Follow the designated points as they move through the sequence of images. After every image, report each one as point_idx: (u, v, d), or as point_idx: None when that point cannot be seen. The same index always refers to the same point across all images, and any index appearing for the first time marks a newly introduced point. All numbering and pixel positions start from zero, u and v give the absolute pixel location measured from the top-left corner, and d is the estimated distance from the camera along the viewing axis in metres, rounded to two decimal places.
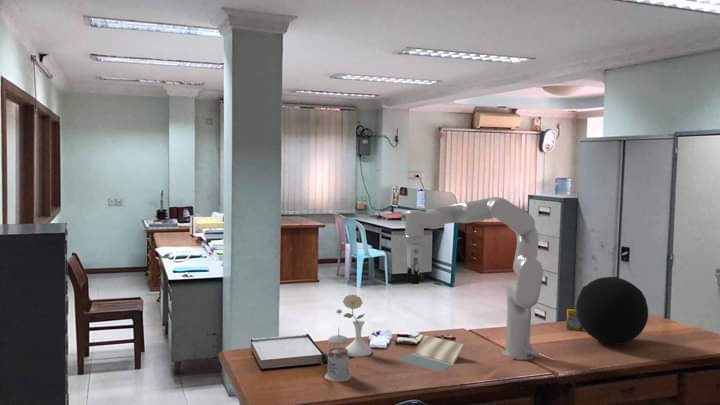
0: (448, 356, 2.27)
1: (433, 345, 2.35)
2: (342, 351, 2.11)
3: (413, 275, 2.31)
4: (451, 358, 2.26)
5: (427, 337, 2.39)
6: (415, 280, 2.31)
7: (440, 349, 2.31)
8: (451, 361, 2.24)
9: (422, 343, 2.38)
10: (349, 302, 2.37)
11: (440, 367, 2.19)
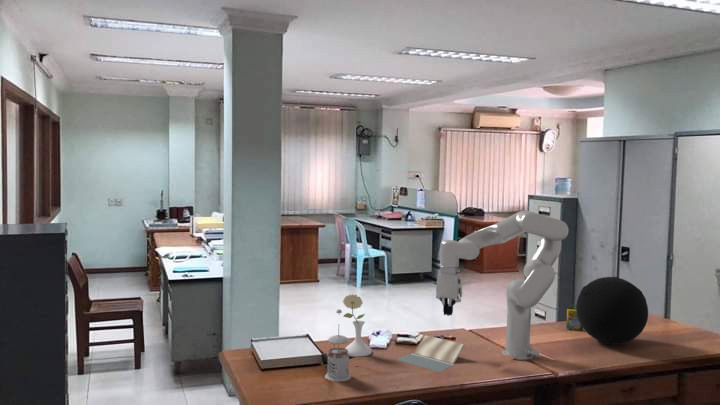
0: (448, 356, 2.27)
1: (433, 345, 2.35)
2: (342, 351, 2.11)
3: (450, 307, 2.35)
4: (451, 358, 2.26)
5: (427, 337, 2.39)
6: (451, 311, 2.35)
7: (440, 349, 2.31)
8: (451, 361, 2.24)
9: (422, 343, 2.38)
10: (349, 302, 2.37)
11: (440, 367, 2.19)
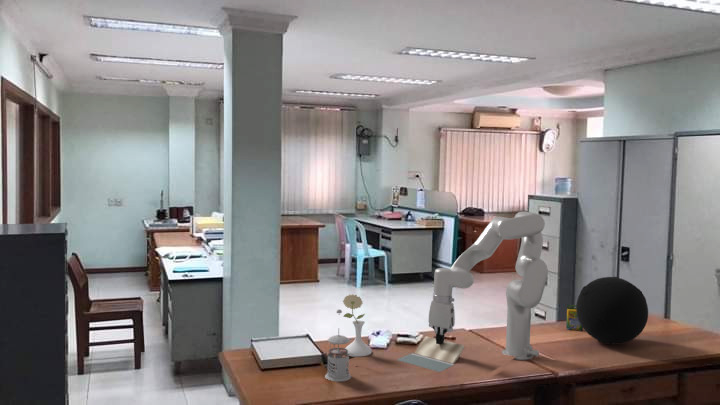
0: (448, 356, 2.27)
1: (433, 346, 2.35)
2: (342, 351, 2.11)
3: (441, 335, 2.32)
4: (451, 358, 2.26)
5: (427, 338, 2.40)
6: (443, 340, 2.33)
7: (440, 350, 2.32)
8: (451, 361, 2.24)
9: (422, 344, 2.38)
10: (349, 302, 2.37)
11: (440, 367, 2.19)
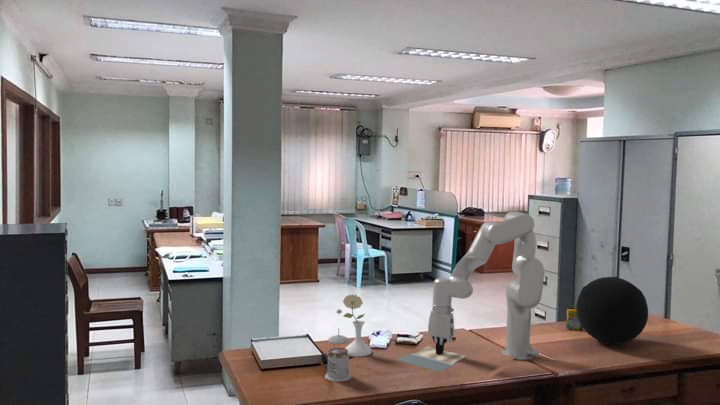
0: (448, 359, 2.28)
1: (434, 352, 2.36)
2: (342, 351, 2.11)
3: (441, 345, 2.33)
4: (451, 361, 2.26)
5: (429, 347, 2.41)
6: (442, 350, 2.33)
7: (441, 355, 2.32)
8: (451, 362, 2.25)
9: (423, 349, 2.39)
10: (349, 302, 2.37)
11: (440, 367, 2.19)
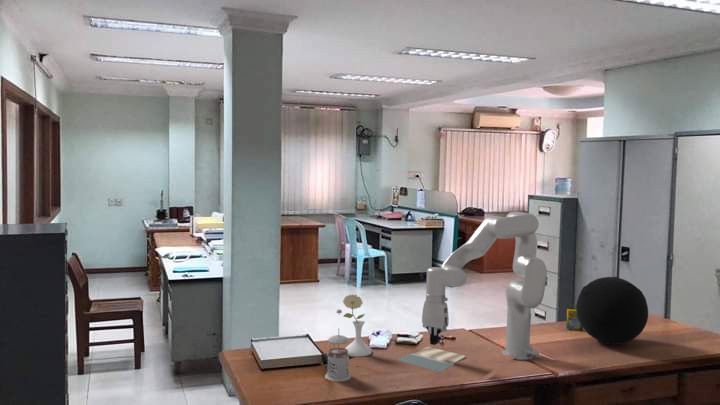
0: (448, 359, 2.28)
1: (434, 352, 2.36)
2: (342, 351, 2.11)
3: (435, 336, 2.28)
4: (451, 361, 2.26)
5: (429, 347, 2.41)
6: (437, 340, 2.28)
7: (441, 355, 2.32)
8: (451, 362, 2.25)
9: (423, 350, 2.39)
10: (349, 302, 2.37)
11: (440, 367, 2.19)
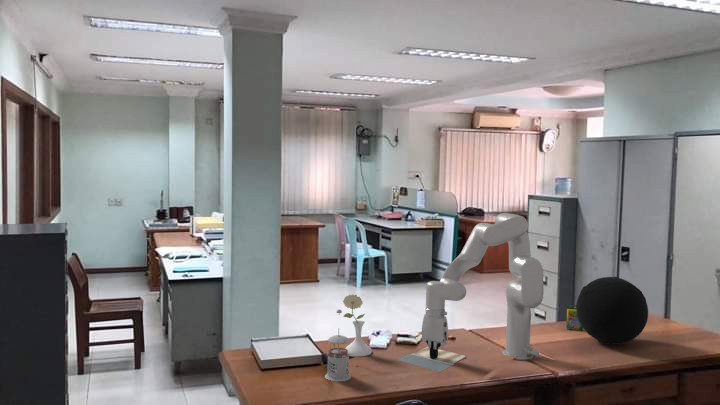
0: (448, 359, 2.28)
1: None
2: (342, 351, 2.11)
3: (435, 350, 2.28)
4: (451, 361, 2.26)
5: None
6: (436, 354, 2.29)
7: (441, 355, 2.32)
8: (451, 362, 2.25)
9: (423, 350, 2.39)
10: (349, 302, 2.37)
11: (440, 367, 2.19)
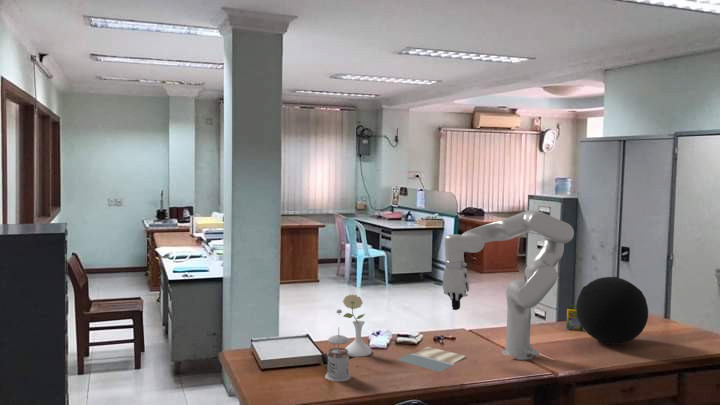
0: (448, 359, 2.28)
1: (434, 352, 2.36)
2: (342, 351, 2.11)
3: (457, 301, 2.34)
4: (451, 361, 2.26)
5: (429, 347, 2.41)
6: (459, 305, 2.34)
7: (441, 355, 2.32)
8: (451, 362, 2.25)
9: (423, 350, 2.39)
10: (349, 302, 2.37)
11: (440, 367, 2.19)
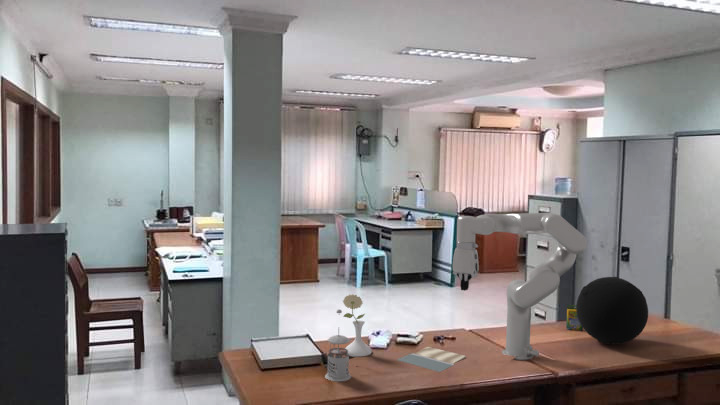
0: (448, 359, 2.28)
1: (434, 352, 2.36)
2: (342, 351, 2.11)
3: (466, 282, 2.37)
4: (451, 361, 2.26)
5: (429, 347, 2.41)
6: (467, 286, 2.37)
7: (441, 355, 2.32)
8: (451, 362, 2.25)
9: (423, 350, 2.39)
10: (349, 302, 2.37)
11: (440, 367, 2.19)
